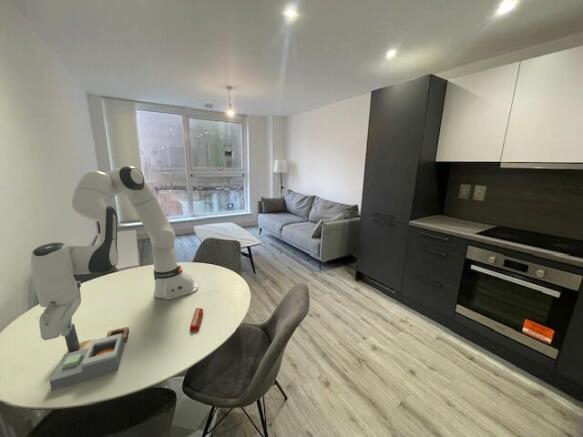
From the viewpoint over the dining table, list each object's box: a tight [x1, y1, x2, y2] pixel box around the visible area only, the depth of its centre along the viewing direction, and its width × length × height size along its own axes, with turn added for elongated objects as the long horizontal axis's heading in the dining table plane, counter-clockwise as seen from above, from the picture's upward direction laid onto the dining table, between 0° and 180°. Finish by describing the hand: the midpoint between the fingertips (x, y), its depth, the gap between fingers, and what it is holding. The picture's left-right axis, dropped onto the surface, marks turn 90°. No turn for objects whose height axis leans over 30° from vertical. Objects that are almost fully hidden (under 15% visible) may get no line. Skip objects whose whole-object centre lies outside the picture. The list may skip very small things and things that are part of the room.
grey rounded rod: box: [64, 323, 80, 353], centre depth 87 cm, size 3×3×10 cm
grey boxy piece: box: [49, 333, 125, 391], centre depth 81 cm, size 17×12×6 cm
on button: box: [64, 354, 82, 369], centre depth 79 cm, size 4×4×3 cm
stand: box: [106, 326, 130, 344], centre depth 95 cm, size 7×7×2 cm
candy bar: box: [189, 307, 204, 332], centre depth 107 cm, size 16×4×3 cm, turn 12°
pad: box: [64, 338, 97, 355], centre depth 89 cm, size 8×8×1 cm
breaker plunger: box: [96, 348, 114, 356], centre depth 83 cm, size 5×5×3 cm
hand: (66, 333), depth 77 cm, fingers closed
